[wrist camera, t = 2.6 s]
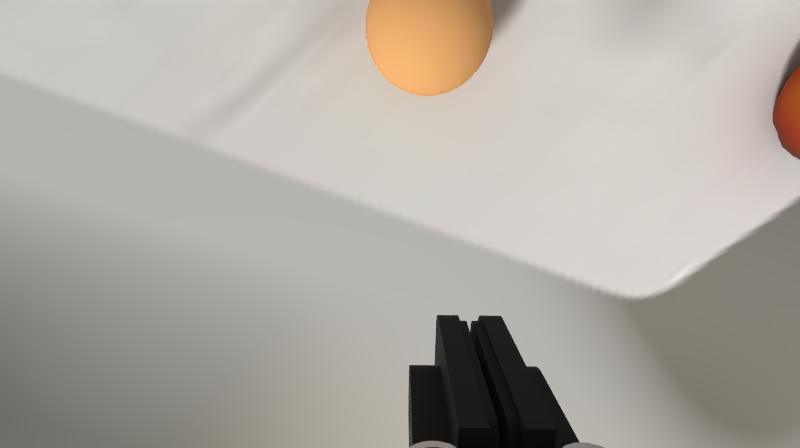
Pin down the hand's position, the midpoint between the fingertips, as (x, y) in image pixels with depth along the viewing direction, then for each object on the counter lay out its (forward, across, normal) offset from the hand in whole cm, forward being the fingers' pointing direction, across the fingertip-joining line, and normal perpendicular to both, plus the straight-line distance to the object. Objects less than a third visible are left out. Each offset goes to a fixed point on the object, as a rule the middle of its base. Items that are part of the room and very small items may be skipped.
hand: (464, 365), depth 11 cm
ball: (+12, 0, -10) cm, 16 cm away
